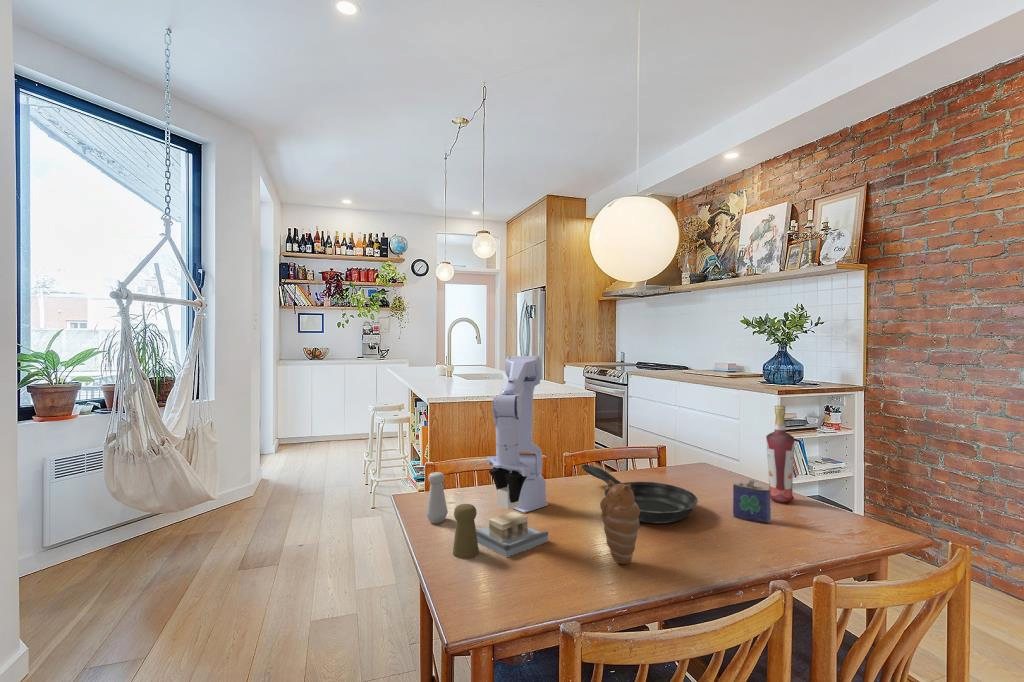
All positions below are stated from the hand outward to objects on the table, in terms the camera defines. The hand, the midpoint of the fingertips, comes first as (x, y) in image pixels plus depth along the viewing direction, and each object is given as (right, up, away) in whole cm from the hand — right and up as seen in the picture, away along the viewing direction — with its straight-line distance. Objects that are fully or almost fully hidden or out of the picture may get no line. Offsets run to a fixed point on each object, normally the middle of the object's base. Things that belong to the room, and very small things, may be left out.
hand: (508, 499), depth 122 cm
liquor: (+80, -9, +25) cm, 84 cm away
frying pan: (+36, -10, +24) cm, 44 cm away
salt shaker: (-20, -10, +14) cm, 26 cm away
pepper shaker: (-10, -11, -6) cm, 16 cm away
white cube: (0, -2, 0) cm, 2 cm away
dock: (0, -10, 0) cm, 10 cm away
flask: (+65, -9, +11) cm, 66 cm away
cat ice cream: (+25, -10, -13) cm, 30 cm away
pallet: (0, -9, 0) cm, 9 cm away
